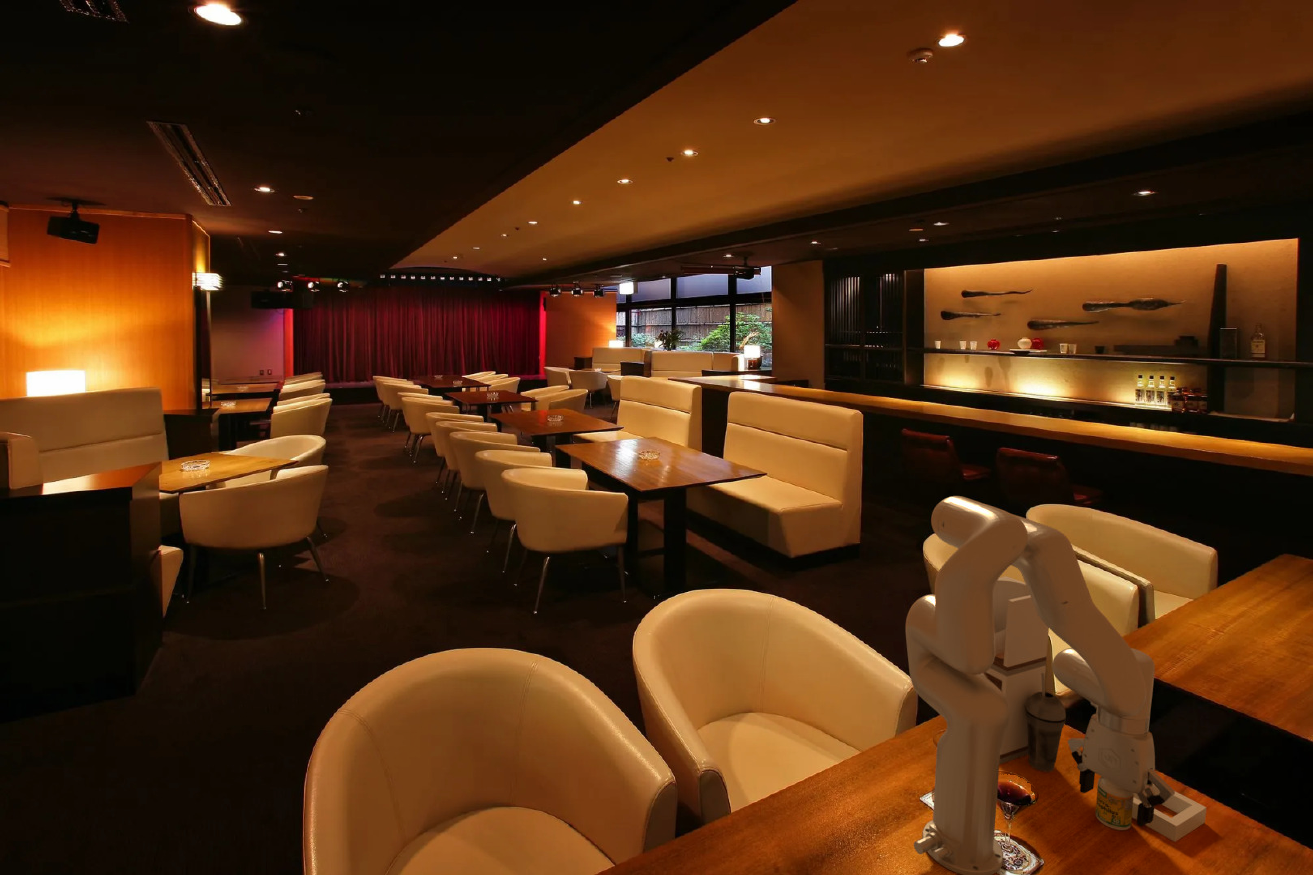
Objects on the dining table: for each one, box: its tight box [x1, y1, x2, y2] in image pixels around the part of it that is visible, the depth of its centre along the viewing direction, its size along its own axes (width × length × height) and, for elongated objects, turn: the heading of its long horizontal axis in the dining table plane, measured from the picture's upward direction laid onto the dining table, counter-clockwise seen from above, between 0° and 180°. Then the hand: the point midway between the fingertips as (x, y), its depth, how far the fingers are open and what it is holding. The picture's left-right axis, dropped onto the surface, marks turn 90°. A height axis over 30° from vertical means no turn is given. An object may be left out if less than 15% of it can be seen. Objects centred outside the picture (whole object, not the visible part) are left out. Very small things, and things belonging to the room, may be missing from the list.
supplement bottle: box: [1095, 776, 1134, 831], centre depth 120 cm, size 5×5×10 cm
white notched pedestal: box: [981, 576, 1050, 765], centre depth 142 cm, size 11×11×35 cm
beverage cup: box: [1025, 673, 1067, 773], centre depth 135 cm, size 7×7×20 cm
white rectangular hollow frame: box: [1132, 784, 1207, 843], centre depth 122 cm, size 10×10×3 cm
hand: (1114, 806), depth 121 cm, fingers open, 9 cm apart
